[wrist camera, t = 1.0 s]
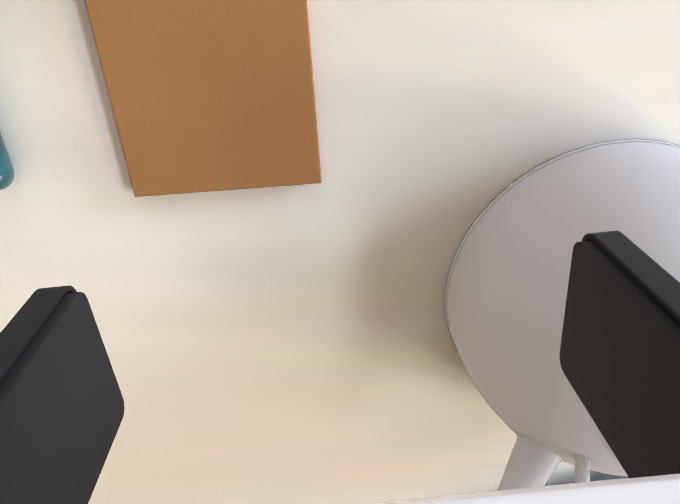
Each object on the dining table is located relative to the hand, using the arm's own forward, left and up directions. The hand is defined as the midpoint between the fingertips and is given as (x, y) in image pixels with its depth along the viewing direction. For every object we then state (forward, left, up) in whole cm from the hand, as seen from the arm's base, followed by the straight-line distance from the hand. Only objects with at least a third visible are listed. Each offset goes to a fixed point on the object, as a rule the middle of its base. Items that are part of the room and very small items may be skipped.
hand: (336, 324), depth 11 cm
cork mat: (-3, -6, -25) cm, 26 cm away
